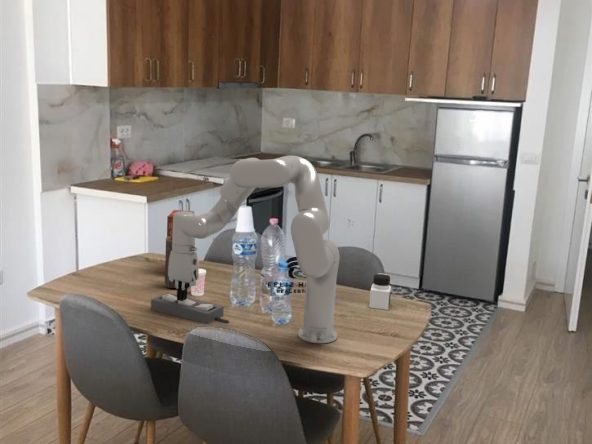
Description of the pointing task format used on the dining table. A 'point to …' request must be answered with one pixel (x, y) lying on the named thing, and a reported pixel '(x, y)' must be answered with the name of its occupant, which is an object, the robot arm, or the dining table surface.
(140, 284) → the dining table surface
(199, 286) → the beverage cup
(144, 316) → the dining table surface
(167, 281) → the candle
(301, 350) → the dining table surface
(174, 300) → the rocker far
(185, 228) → the robot arm
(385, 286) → the medicine bottle
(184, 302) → the rocker middle
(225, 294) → the dining table surface
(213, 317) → the power strip
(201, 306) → the rocker near
